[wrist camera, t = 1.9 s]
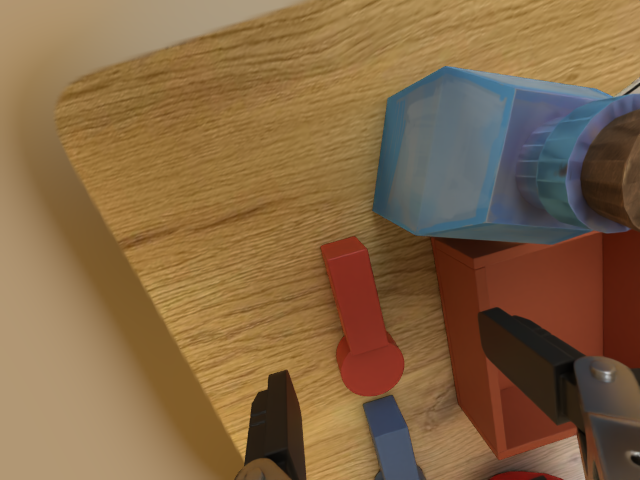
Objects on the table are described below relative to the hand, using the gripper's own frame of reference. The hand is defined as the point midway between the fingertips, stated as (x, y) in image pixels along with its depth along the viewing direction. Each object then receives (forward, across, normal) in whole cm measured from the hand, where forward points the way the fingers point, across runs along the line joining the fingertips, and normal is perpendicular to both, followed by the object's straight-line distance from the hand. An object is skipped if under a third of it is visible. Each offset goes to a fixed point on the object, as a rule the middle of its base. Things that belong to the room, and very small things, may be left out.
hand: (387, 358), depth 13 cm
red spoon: (+7, 0, +2) cm, 8 cm away
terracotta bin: (+7, -12, +5) cm, 14 cm away
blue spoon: (+7, 0, +14) cm, 16 cm away
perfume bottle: (+7, -6, -6) cm, 12 cm away
